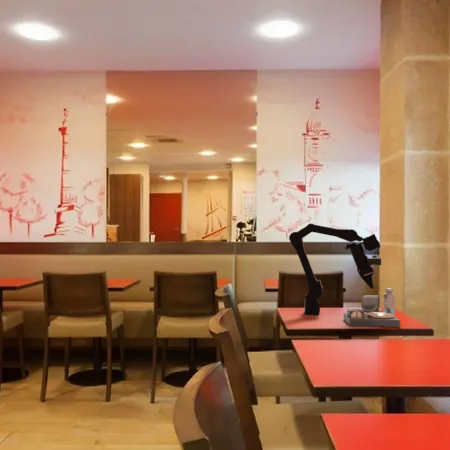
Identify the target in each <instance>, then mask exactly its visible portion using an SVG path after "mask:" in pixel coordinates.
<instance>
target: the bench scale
mask: <svg viewBox="0 0 450 450" xmlns="http://www.w3.org/2000/svg"><path fill="white" fill-rule="evenodd" d="M344 320H345V321H346V322H345V321H344ZM343 321H344V322H345V323H346V324H347V325H348V326H349V327H362V326H363V327H365V328H366V327H369V328H371V327H372V328H373V327H374V328H379V327H378V326H385V327H384V328H396V327H400V328H401V320H400V319H399V318H397V317H396V316H395V317H394V314H391V313H384V312H383V311H373V312H365V311H364V310H363V309H362V308H347V309H346V312H343ZM376 326H377V327H376Z"/></svg>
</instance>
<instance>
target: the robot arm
mask: <svg viewBox="0 0 450 450" xmlns="http://www.w3.org/2000/svg"><path fill="white" fill-rule="evenodd" d="M311 233H316V234H321V235H325V236H326V235H327V236H331V237H336V238H339V239H342V240H344V241H346V242H349V243H346V245H345V248H344V250H348V249H349V251H350V254H351V256H352V258H353V262H354V263H355V266H356V271H357V274H358V275H359V276H360V279H362V280H363V281H364V283H365V284H367V286H368V287H369V288H370V289H371V290H373V289H374V282H373V275H374V273H375V271H374V269H373V268H374V267H372V266H382V258H381V257H378V256H377V255H372V256H371V257H368V256H367V255H366V253H365V251H367V252H373V251H375V250H377V249H380V248H382V247H381V243H380V241H379V240H378V238H377V235H376V234H375V233H372V234H371V235H369V236H366V237H362V236H360V235H359V234H358V232H357V231H356V230H355V229H350V228H348V229H345V228H334V227H330V226H329V227H328V226H323V225H318V224H314V223H308V224H307V225H306V226H304V227H303V228H301V229H299V230H298V231H293V232H291V233H290V234H289V237H288V240H289V242H290V244H291V245H292V247H293V248H294V250H295V252H296V254H297V256H298V258H299V262H300V263H301V266H302V269H303V272H304V274H305V277H306V280H307V286H308V292H307V293H306V294H305V297H304V311H303V313H304V314H305V315H316V316H317V315H320V313H321V304H320V302H319V301H320V300H319V299H318V298H320V297H322V295H323V290H324V286H323V285H322V281H321V279H317V278H316V275H315V273H314V271H313V268H312V266H311V263H310V260H309V258H308V256H307V252H306V251H305V246H304V245H305V244H304V239H303V238H305V237H306V236H308V235H310V234H311ZM356 242H359V243H356Z"/></svg>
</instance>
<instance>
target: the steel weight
mask: <svg viewBox="0 0 450 450" xmlns="http://www.w3.org/2000/svg"><path fill="white" fill-rule="evenodd" d="M382 299H383V300H382V312H384V313H391V314H394V317H396V294H395V293H394V288H389V287H386V288H385V293H383V294H382Z"/></svg>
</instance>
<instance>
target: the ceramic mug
mask: <svg viewBox="0 0 450 450" xmlns="http://www.w3.org/2000/svg"><path fill="white" fill-rule="evenodd" d="M360 299H361V300H360V302H361V303H360V306H361V309H362V310H363V311H364V313H369V312H380V307H381V306H380V296H379V294H375V295H374V294H371V295H369V294H368V295H362V296H361V298H360Z"/></svg>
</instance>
